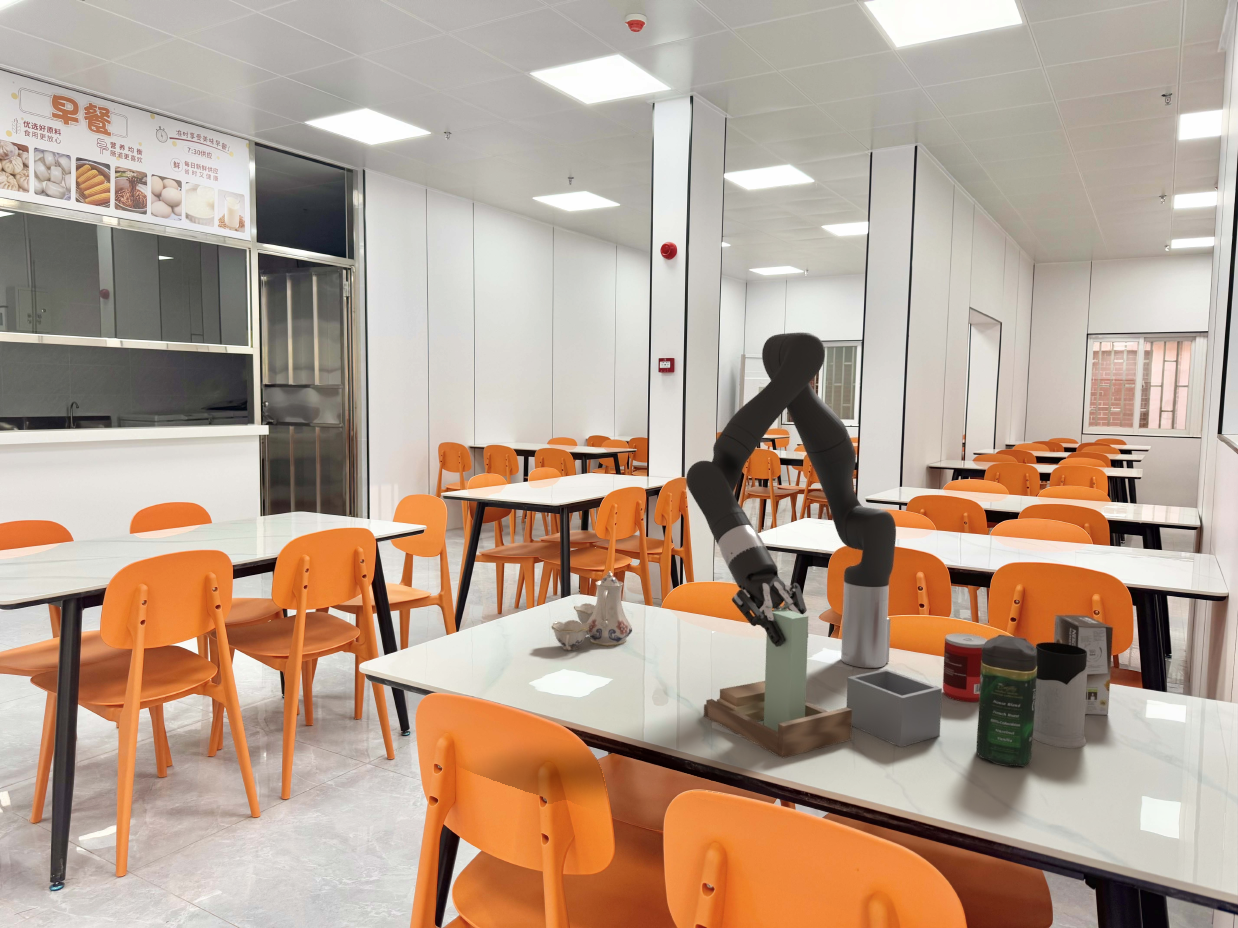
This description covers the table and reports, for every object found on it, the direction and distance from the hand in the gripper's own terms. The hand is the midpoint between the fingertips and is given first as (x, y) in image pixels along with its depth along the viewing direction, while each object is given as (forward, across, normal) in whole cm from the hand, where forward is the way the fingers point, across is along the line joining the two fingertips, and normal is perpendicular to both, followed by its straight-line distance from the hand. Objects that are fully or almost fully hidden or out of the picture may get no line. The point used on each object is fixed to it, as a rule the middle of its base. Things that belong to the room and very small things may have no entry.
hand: (792, 641), depth 135 cm
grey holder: (+16, +17, +6) cm, 24 cm away
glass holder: (+25, +38, -3) cm, 46 cm away
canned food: (+12, +43, +10) cm, 46 cm away
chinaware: (-34, 0, +57) cm, 66 cm away
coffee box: (+22, +57, 0) cm, 61 cm away
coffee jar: (+27, +24, -5) cm, 37 cm away
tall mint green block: (+10, 0, +12) cm, 16 cm away
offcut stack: (+4, 0, +18) cm, 18 cm away
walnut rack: (+9, 0, +13) cm, 16 cm away
